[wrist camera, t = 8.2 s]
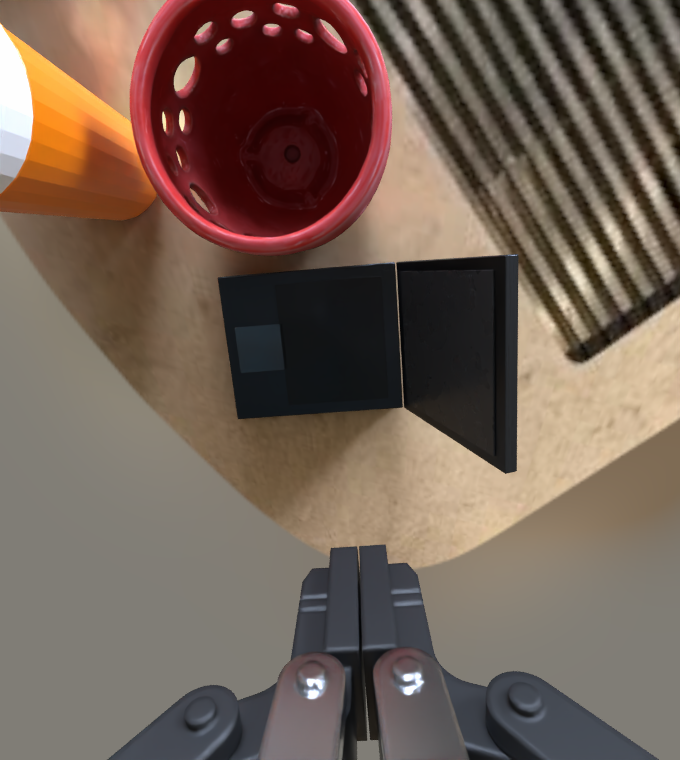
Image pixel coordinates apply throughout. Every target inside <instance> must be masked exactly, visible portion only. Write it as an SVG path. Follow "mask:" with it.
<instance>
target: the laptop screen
mask: <svg viewBox="0 0 680 760" xmlns="http://www.w3.org/2000/svg"><path fill="white" fill-rule="evenodd" d="M397 279H398V298H399V317H400V336H401V355H402V374H403V393H404V408H406V409H407V410H409V411H410V412H412V413H414V414H415V415H417V416H418V417H420V418H421V419H423V420H424V421H426V422H427V423H429V424H430V425H432V426H433V427H435V428H436V429H438V430H439V431H441V432H443V433H444V434H446V435H447V436H449V437H450V438H452V439H453V440H455V441H456V442H458V443H459V444H461V445H462V446H464V447H465V448H467V449H469V450H470V451H472V452H473V453H475V454H476V455H478V456H479V457H481V458H482V459H484V460H485V461H487V462H488V463H490V464H491V465H493V466H494V467H496V468H498V469H499V470H501V471H502V472H504V473H505V474H506V473H511V472H515V471H517V359H518V254H513V255H498V256H482V257H466V258H450V259H434V260H418V261H403V262H397Z"/></svg>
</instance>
